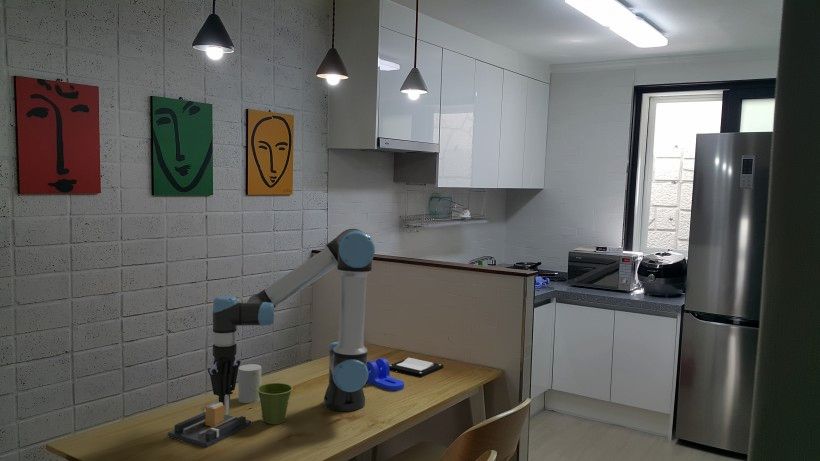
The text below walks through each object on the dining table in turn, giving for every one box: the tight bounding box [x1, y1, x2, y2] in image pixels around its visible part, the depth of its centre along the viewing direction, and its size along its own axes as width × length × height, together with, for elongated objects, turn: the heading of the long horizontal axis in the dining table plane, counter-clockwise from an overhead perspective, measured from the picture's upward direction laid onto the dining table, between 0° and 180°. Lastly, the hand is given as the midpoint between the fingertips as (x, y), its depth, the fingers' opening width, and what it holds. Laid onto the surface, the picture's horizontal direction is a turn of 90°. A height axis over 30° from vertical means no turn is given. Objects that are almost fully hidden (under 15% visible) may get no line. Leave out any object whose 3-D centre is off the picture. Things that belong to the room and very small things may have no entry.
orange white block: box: [205, 401, 224, 427], centre depth 198 cm, size 4×4×7 cm
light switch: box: [389, 357, 444, 378], centre depth 271 cm, size 18×3×18 cm
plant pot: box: [257, 382, 294, 425], centre depth 207 cm, size 12×12×11 cm
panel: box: [167, 414, 252, 448], centre depth 197 cm, size 16×20×3 cm
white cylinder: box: [237, 363, 262, 404], centre depth 227 cm, size 8×8×12 cm
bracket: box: [367, 357, 405, 392], centre depth 248 cm, size 18×8×9 cm, turn 45°
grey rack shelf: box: [174, 409, 247, 440], centre depth 197 cm, size 16×16×2 cm
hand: (224, 413), depth 203 cm, fingers closed
